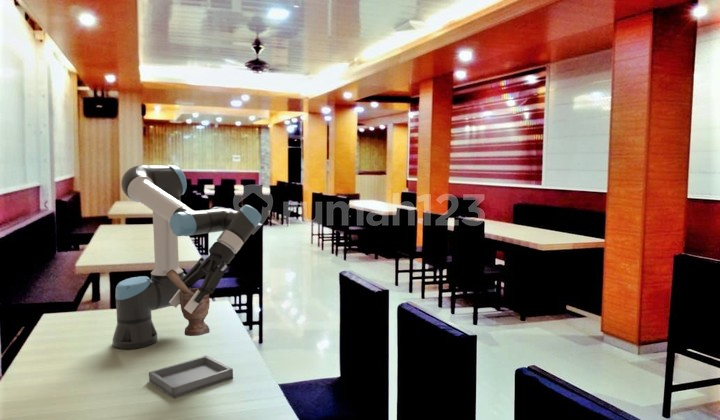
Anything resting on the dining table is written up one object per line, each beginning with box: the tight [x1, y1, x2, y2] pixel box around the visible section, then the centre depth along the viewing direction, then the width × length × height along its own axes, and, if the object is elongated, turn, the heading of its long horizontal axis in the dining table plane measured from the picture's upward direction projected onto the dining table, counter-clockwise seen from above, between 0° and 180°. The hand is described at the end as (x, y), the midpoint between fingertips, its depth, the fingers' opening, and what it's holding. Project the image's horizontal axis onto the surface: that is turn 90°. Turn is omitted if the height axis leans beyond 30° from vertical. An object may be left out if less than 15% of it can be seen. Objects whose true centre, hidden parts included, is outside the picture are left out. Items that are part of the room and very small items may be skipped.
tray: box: [148, 355, 234, 399], centre depth 161 cm, size 16×19×3 cm
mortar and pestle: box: [166, 269, 211, 337], centre depth 159 cm, size 12×9×20 cm
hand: (179, 307), depth 157 cm, fingers closed on mortar and pestle, 9 cm apart
